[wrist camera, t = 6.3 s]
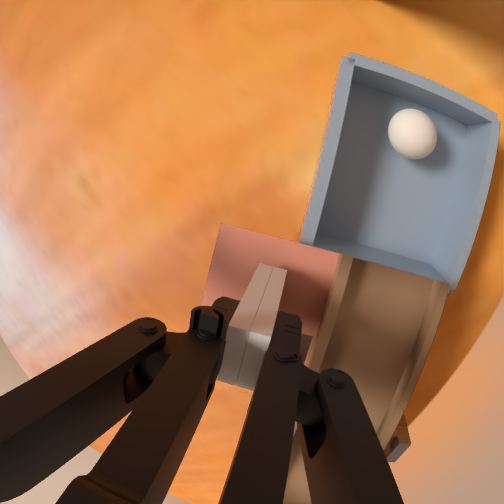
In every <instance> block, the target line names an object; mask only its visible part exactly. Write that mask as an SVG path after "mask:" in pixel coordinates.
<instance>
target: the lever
mask: <svg viewBox="0 0 504 504" xmlns="http://www.w3.org/2000/svg"><path fill="white" fill-rule="evenodd" d="M259 263H262V264H265V265H269V266H273V267H277V268H281V269H284V270H287V273H286V278H285V282H284V286H283V291H282V295H281V299H280V303H279V308H278V310H279V311H283V312H286V313H290V314H294V315H298V316H299V317H300V319H301V321H302V332H301V333H302V334H306V335H310V336H313V338H312V341H311V344H310V347H309V350H308V354H307V357H306V360H305V363H304V365H305V366H307V367H308V368H309V369H311V370H313V371H315V372H317V373H321V372H322V371H323V370H325V369H329V368H334V369H339V370H342V371H344V372H346V373H347V374H349V375H350V376H351V377H352V379H353V380H354V382H355V385H356V387H357V389H358V391H359V394H360V396H361V398H362V401H363V403H364V405H365V408H366V410H367V412H368V415H369V417H370V420H371V422H372V424H373V427H374V429H375V432H376V434H377V436H378V439H379V441H380V444H381V446H382V449H383V451H384V450H385V449H386V448H387V446H388V443H389V440H390V438H391V436H392V434H393V432H394V430H395V428H396V427H397V425H398V423H399V421H400V419H401V417H402V415H403V412H404V410H405V408H406V406H407V404H408V402H409V400H410V397H411V395H412V393H413V391H414V388H415V386H416V384H417V381H418V379H419V377H420V374H421V372H422V369H423V367H424V364H425V362H426V359H427V356H428V354H429V351H430V348H431V345H432V342H433V339H434V337H435V334H436V331H437V327H438V324H439V321H440V318H441V315H442V311H443V308H444V304H445V301H446V297H447V293H448V290H449V286H450V284H449V283H445V282H442V281H437V280H433V279H429V278H426V277H422V276H419V275H415V274H412V273H408V272H405V271H401V270H397V269H394V268H390V267H387V266H383V265H379V264H376V263H372V262H368V261H365V260H361V259H357V258H354V257H352V256H349V255H345V254H339V253H335V252H331V251H328V250H324V249H320V248H316V247H312V246H309V245H305V244H301V243H297V242H293V241H289V240H286V239H282V238H278V237H274V236H270V235H266V234H262V233H258V232H254V231H250V230H246V229H242V228H238V227H234V226H230V225H226V224H222V223H221V225H220V229H219V233H218V237H217V241H216V245H215V249H214V253H213V257H212V261H211V265H210V269H209V273H208V278H207V282H206V286H205V290H204V294H203V299H202V303H201V306H212V304H213V303H214V301H215V300H216V299H218V298H220V297H222V296H225V297H228V298H232V299H235V300H239V301H241V299H242V297H243V295H244V293H245V291H246V289H247V287H248V285H249V283H250V281H251V279H252V277H253V275H254V273H255V271H256V269H257V267H258V265H259ZM283 504H312V503H311V498H310V493H309V487H308V482H307V477H306V471H305V466H304V461H303V456H302V451H301V445H300V440H299V435H298V430H297V422H296V421H295V427H294V435H293V442H292V449H291V456H290V463H289V470H288V476H287V482H286V488H285V494H284V500H283Z"/></svg>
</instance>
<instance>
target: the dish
mask: <svg viewBox="0 0 504 504" xmlns="http://www.w3.org/2000/svg"><path fill="white" fill-rule="evenodd" d="M404 109H417V110H420V111H422V112H423V113H425V114H426V115H428V116H429V117H430V119H431V120H432V121H433V123H434V125H435V127H436V130H437V143H436V146H435V148H434V150H433V151H432V152H431V153H430V154H429V155H428V156H426V157H424V158H422V159H409V158H406V157H404V156H402V155H400V154H399V153H398V152H397V151H396V150H395V149H394V148H393V146H392V145H391V142H390V140H389V136H388V126H389V123H390V121H391V119H392V117H393V116H394V115H395V114H396V113H397V112H399V111H401V110H404ZM500 125H501V121H499V120H497V113H495V112H493V111H492V110H490V109H488V108H486V107H485V106H483V105H481V104H479V103H477V102H475V101H473V100H472V99H470V98H468V97H466V96H464V95H462V94H460V93H458V92H456V91H454V90H451V89H449V88H447V87H445V86H443V85H441V84H438V83H436V82H434V81H431V80H429V79H427V78H424V77H422V76H419V75H417V74H414V73H412V72H409V71H406V70H404V69H401V68H398V67H395V66H393V65H390V64H387V63H384V62H381V61H378V60H374V59H371V58H368V57H365V56H361V55H358V54H354V53H349V56H348V57H344V56H342V59H341V62H340V65H339V68H338V72H337V75H336V80H335V85H334V90H333V95H332V100H331V104H330V109H329V114H328V119H327V123H326V128H325V132H324V137H323V141H322V146H321V150H320V154H319V159H318V163H317V167H316V172H315V176H314V180H313V184H312V188H311V192H310V196H309V201H308V205H307V209H306V213H305V216H304V220H303V224H302V228H301V233H300V240H299V243H301V244H305V245H309V246H312V247H316V248H320V249H324V250H328V251H331V252H335V253H339V254H345V255H349V256H352V257H354V258H357V259H361V260H365V261H368V262H372V263H376V264H379V265H383V266H387V267H390V268H394V269H397V270H401V271H405V272H408V273H412V274H415V275H419V276H422V277H426V278H429V279H433V280H437V281H442V282H445V283H449V284H450V286H449V290H448V293H447V295H449V293H450V291H451V290H453V291H455V290H456V288H457V285H458V283H459V280H460V278H461V275H462V273H463V270H464V268H465V265H466V262H467V260H468V257H469V254H470V251H471V248H472V246H473V243H474V240H475V237H476V233H477V230H478V227H479V224H480V220H481V217H482V214H483V210H484V206H485V203H486V199H487V195H488V191H489V187H490V182H491V178H492V173H493V168H494V163H495V158H496V152H497V146H498V140H499V133H500Z"/></svg>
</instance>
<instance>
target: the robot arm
mask: <svg viewBox="0 0 504 504" xmlns="http://www.w3.org/2000/svg"><path fill="white" fill-rule="evenodd" d="M286 273H287V270H284V269H281V268H277V267H273V266H269V265H265V264H262V263H259V265H258V267H257V269H256V271H255V273H254V275H253V277H252V279H251V281H250V283H249V285H248V287H247V289H246V291H245V293H244V295H243V297H242V299H241V301H239V300H235V299H232V298H228V297H225V296H222V297H220V298H218V299H216V300H215V301H214V303H213V304H212V306H198V307H195V308H194V309H192V311H191V319H190V327H189V330H188V331H187V332H186V333H175V332H167V331H166V330H167V328H166V326H165V324H164V323H163V322H161V321H160V320H157V319H155V318H149V317H145V318H139V319H137V320H134V321H133V322H131V323H129V324H127V325H126V326H124V327H122V328H120V329H119V330H117V331H115V332H113V333H112V334H110V335H108V336H106V337H105V338H103V339H101V340H99V341H97V342H96V343H94V344H92V345H90V346H89V347H87V348H85V349H83V350H82V351H80V352H78V353H76V354H75V355H73V356H71V357H69V358H68V359H66V360H64V361H62V362H60V363H59V364H57V365H55V366H53V367H52V368H50V369H48V370H46V371H45V372H43V373H41V374H39V375H38V376H36V377H34V378H32V379H30V380H29V381H27V382H25V383H23V384H22V385H20V386H18V387H16V388H15V389H13V390H11V391H9V392H7V393H6V394H4V395H3V396H0V502H5V501H8V500H11V499H13V498H16V497H18V496H20V495H22V494H24V493H25V492H27V491H28V490H30V489H32V488H33V487H34V486H35V485H37V484H38V483H40V482H41V481H43V480H44V479H45V478H47V477H48V476H49V475H51V474H52V473H53V472H55V471H56V470H57V469H59V468H60V467H61V466H63V465H64V464H65V463H66V462H68V461H69V460H71V459H72V458H73V457H74V456H76V455H77V454H78V453H80V452H81V451H82V450H83V449H85V448H86V447H87V446H89V445H90V444H91V443H92V442H94V441H95V440H96V439H97V438H99V437H100V436H101V435H102V434H104V433H105V432H106V431H107V430H109V429H110V428H111V427H112V426H114V425H115V424H116V423H117V422H119V421H120V420H121V419H122V418H123V417H125V416H126V415H127V414H128V413H130V412H131V411H132V410H133V411H132V412H131V413H130V415H129V416H128V418H127V419H126V421H125V422H124V424H123V425H122V427H121V428H120V429H119V431H118V432H117V434H116V435H115V437H114V438H113V440H112V441H111V443H110V444H109V445H108V447H107V448H106V450H105V451H104V453H103V454H102V456H101V457H100V459H99V460H98V462H97V463H96V465H95V466H94V467H93V469H92V470H91V472H90V473H89V474H87V475H84V476H78V477H76V478H75V479H73V481H72V482H71V483H70V484H69V485H68V486H67V488H66V489H65V491H64V492H63V494H62V495H61V496H60V498H59V499H58V501H57V502H56V504H162V503H163V501H164V499H165V497H166V494H167V492H168V490H169V488H170V486H171V484H172V481H173V479H174V477H175V475H176V473H177V471H178V468H179V466H180V464H181V462H182V460H183V457H184V455H185V453H186V451H187V448H188V446H189V444H190V442H191V440H192V437H193V435H194V433H195V431H196V428H197V426H198V424H199V422H200V419H201V417H202V415H203V413H204V410H205V408H206V406H207V404H208V401H209V399H210V397H211V394H212V392H213V390H214V386H215V381H216V378H217V376H218V379H217V380H219V381H222V382H225V383H229V384H232V385H235V386H239V387H242V388H246V389H250V390H253V391H254V392H253V395H252V398H251V402H250V405H249V408H248V411H247V415H246V419H245V422H244V425H243V428H242V432H241V435H240V438H239V441H238V445H237V448H236V451H235V454H234V457H233V461H232V464H231V467H230V470H229V473H228V476H227V479H226V482H225V485H224V488H223V491H222V494H221V497H220V500H219V503H218V504H283V500H284V494H285V488H286V482H287V476H288V470H289V463H290V456H291V449H292V442H293V435H294V427H295V421H296V422H297V430H298V435H299V440H300V445H301V451H302V456H303V461H304V466H305V471H306V477H307V482H308V487H309V493H310V498H311V503H312V504H404V503H403V500H402V498H401V495H400V492H399V490H398V487H397V484H396V482H395V479H394V477H393V474H392V472H391V469H390V466H389V464H388V461H387V459H386V456H385V454H384V451H383V449H382V446H381V444H380V441H379V439H378V436H377V434H376V432H375V429H374V427H373V424H372V422H371V420H370V417H369V415H368V412H367V410H366V408H365V405H364V403H363V401H362V398H361V396H360V394H359V391H358V389H357V387H356V385H355V382H354V380H353V379H352V377H351V376H350V375H349V374H347V373H346V372H344V371H342V370H339V369H334V368H329V369H325V370H323V371H322V372H321V373H317V372H315V371H313V370H311V369H309V368H308V367H307V366H305V365H304V364H303V362H302V359H301V355H300V354H299V353H300V343H301V332H302V321H301V319H300V317H299V316H298V315H294V314H290V313H286V312H283V311H279V310H278V308H279V303H280V299H281V295H282V291H283V286H284V282H285V278H286ZM236 383H237V384H236Z"/></svg>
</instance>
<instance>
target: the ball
mask: <svg viewBox="0 0 504 504" xmlns="http://www.w3.org/2000/svg"><path fill="white" fill-rule="evenodd" d="M388 136H389V140H390V142H391V145H392V146H393V148H394V149H395V150H396V151H397V152H398V153H399V154H400V155H402V156H404V157H406V158H409V159H422V158H424V157H426V156H428V155H429V154H430V153H431V152H432V151H433V150H434V148H435V146H436V143H437V130H436V127H435V125H434V123H433V121H432V120H431V119H430V117H429V116H428V115H426V114H425V113H423V112H422V111H420V110H417V109H404V110H401V111H399V112H397V113H396V114H395V115H394V116H393V117H392V119H391V121H390V123H389V126H388Z"/></svg>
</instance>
